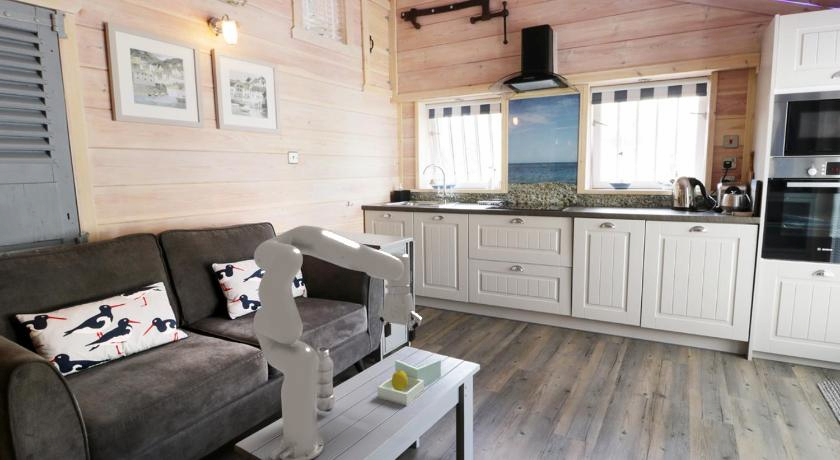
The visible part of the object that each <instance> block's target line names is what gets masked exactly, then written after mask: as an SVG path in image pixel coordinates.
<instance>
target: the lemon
mask: <svg viewBox="0 0 840 460" xmlns="http://www.w3.org/2000/svg"><path fill="white" fill-rule="evenodd" d="M407 384H408V379H407V375H406V373H405V372H403V371H401V370H398V371H396V372H395V371H394V373H393V374H392V386H393V388H394V389H395V390H397V391H403V390H405V388H406V387H407Z"/></svg>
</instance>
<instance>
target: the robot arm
mask: <svg viewBox="0 0 840 460" xmlns="http://www.w3.org/2000/svg"><path fill="white" fill-rule="evenodd" d="M253 255H254V256H253V260H254V263H255V265H256V266H257V268H259V269H260V270H262V271H265V272H264V273H263V275H262V277H261V279H260V282H259V286H258V292H257V293H258V300H259V302H260V307H259V308H258V309H257V311H256V312H255V314H254V318H253V329H254V333H255V335H256V338H257V340H258V344H259V345H260V349H261V351H262V353H263V357H264V359H265V360H266V361H267V363H268V364H269V365H270V366H271V367H272V368H274V369H275V370H278V371H280V372H281V373H282V374H283V377H284V378H283V381H282V384H281V392H280V398H281V399H280V400H281V401H280V402H281V412H282V413H281V414H282V416H281V417H282V433H283V437H282V438H283V439H281V440H280V445H279V446H278V448H277V449H275V450H273V451H272V452H270V454H269V455H270V458H271V459H272V460H277V459H278V457H279V458H280V459H281V460H312V459H314V458H316V457H318V456H319V455H320V454H321V453H322V452H323V451H324V447H325V446H324V445H325V442H324V440H323V438H322V437H321V436H319V432H318V431H319V430H318V427H319V426H318V409H317V402H316V374H317V368H318V356H317V352H316V350H315V349H314V348H313V347H312V346H311V345H309V344H308V343H305V342H303V341H301V340H299V339H300V338H301V337H302V334H303V322H302V319H301V316H300V312H299V309H298V307H297V304H296V301H295V297H294V294H293V283H294V280H295V278H296V277H297V275H298V273H299V272H300V270H301V268H302V267H303V266H302V265H303V261H304V259H303V258H304V257H303V255H308V256H310V257H313V258H317V259H320V260H323V261H326V262H328V263H331V264H334V265H336V266H339V267H341V268H345V269H348V270H351V271H352V270H353V271H356V272H357V271H358V272H363V273H366V275H367V276H368V277H371V278H375V279H382V280H385V281H387V284H385V286H384V288H385V289H387V291H386V293H385V296H384V302H383V308H382V309H381V310H378V311H377V315H378V317H379V320H380V322H381V323H382V326H383V333H384V338H388V337H390V336H392V324H395V325H402V326H407V327H408V329H409V330H408V333H407V334H408V342H409V343H412V342H413V341H415V340H416V337H417V335H416V330H417V328H418V327H419V326H420V325H421V322H422V320H423V317H421V316H420V315H419V314H418V313H416V311H415V306H414V298H413V296H412V295H413V293H411V280H410V277H411V275H410V273H411V271H410V270H411V269H410V268H411V267H410V266H411V265H410V256H409V254H408V253H405V252H391V253H387V252H384V251H382V250H378V249H377V248H373V247H371V246H369V245H365V244H363V243H361V242H357V241H354V240H352V239H350V238H347V237H345V236H342V235H340V234H338V233H336V232H333V231H331V230H329V229H326V228H324V227H319V226H313V225H312V226H311V225H298V226H296V227H294V228H291V229H289V230H287V231H285V232H283V233H281V234H278V235H276V236H274V237H271V238H269V239H267V240H265V241H263V242H261V243H260V244H259V245H258V246H257V247H256V249H255V250H254V254H253Z"/></svg>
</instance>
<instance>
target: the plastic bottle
mask: <svg viewBox="0 0 840 460" xmlns="http://www.w3.org/2000/svg"><path fill="white" fill-rule="evenodd" d="M316 351H317V352H316V354H317V356H318V368H317V374H316V402H317V411H318V410H319V411H330V410H331V409H333V408H334V406H335V404H336V397H335V392H334V386H333V385H334V384H333V377H334V376H333V375H334V374H333V373H334V362H333V360H332V358H331V357H330V356H329V355H330V350H329V348H328V347H320V348H317V350H316Z"/></svg>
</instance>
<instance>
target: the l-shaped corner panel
mask: <svg viewBox="0 0 840 460" xmlns="http://www.w3.org/2000/svg"><path fill="white" fill-rule="evenodd" d="M441 361H442V360H441V359H437V360H434V361H431V362H429V363H428V364H425V365H422V366H420V367H416V366H413V365H410V364H408V363H406V362H404V361H402V360H399V359H396V360H394V368H395V369H394V370H395V371H394V373H395V372H396V371H398V370H401V371H403V372H405V373H406V375H407V377H411V378H415V379H419V380H424V387H425V386H427V385H428V384H430V383H432V382H434V381H437V380H438V379H439V378H441V376H442V369H441V365H442V363H441Z"/></svg>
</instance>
